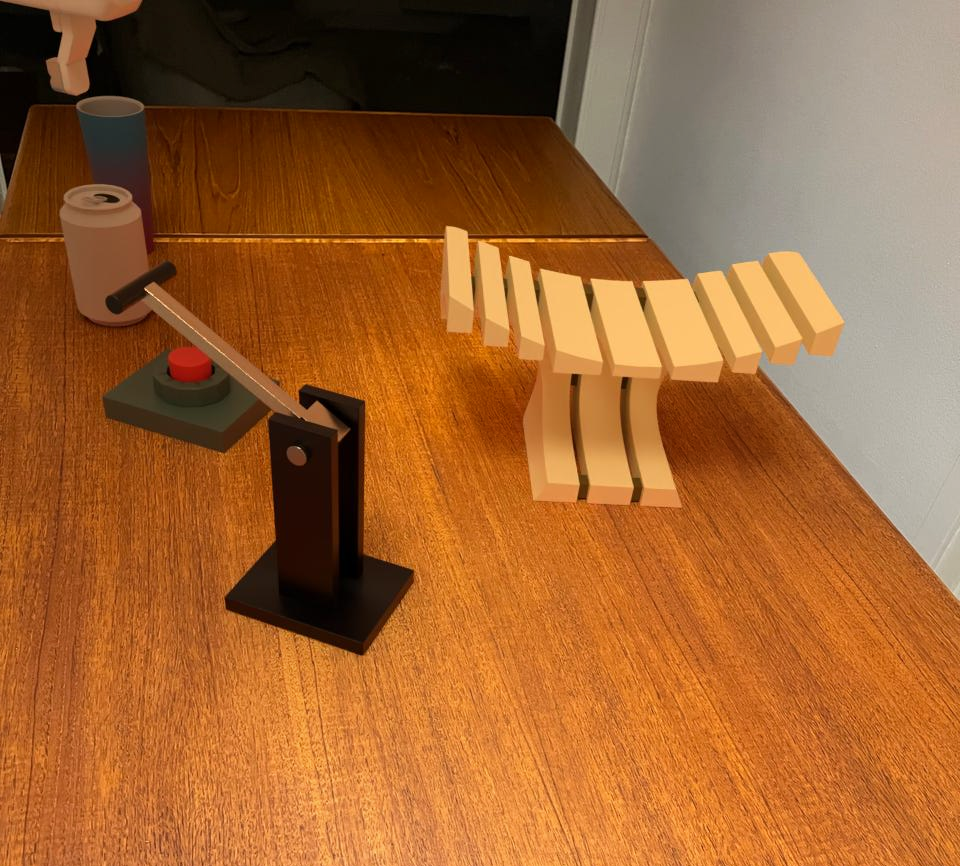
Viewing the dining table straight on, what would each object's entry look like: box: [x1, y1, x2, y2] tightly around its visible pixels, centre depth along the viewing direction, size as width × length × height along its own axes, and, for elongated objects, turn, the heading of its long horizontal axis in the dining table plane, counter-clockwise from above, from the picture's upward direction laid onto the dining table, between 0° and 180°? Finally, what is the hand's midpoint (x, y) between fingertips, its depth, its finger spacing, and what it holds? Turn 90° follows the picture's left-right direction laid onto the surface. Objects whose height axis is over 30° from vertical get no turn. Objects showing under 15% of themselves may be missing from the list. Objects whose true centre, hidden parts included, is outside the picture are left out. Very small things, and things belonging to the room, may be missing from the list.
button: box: [168, 346, 212, 382], centre depth 89 cm, size 4×4×2 cm
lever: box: [105, 260, 350, 445], centre depth 64 cm, size 16×6×2 cm, turn 68°
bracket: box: [224, 383, 415, 656], centre depth 70 cm, size 11×9×16 cm
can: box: [59, 183, 153, 327], centre depth 100 cm, size 8×8×12 cm
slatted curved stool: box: [439, 225, 845, 509], centre depth 87 cm, size 30×16×18 cm, turn 92°
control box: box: [101, 348, 281, 454], centre depth 91 cm, size 12×10×4 cm
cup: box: [75, 95, 155, 255], centre depth 110 cm, size 7×7×15 cm
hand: (7, 77), depth 62 cm, fingers open, 8 cm apart
